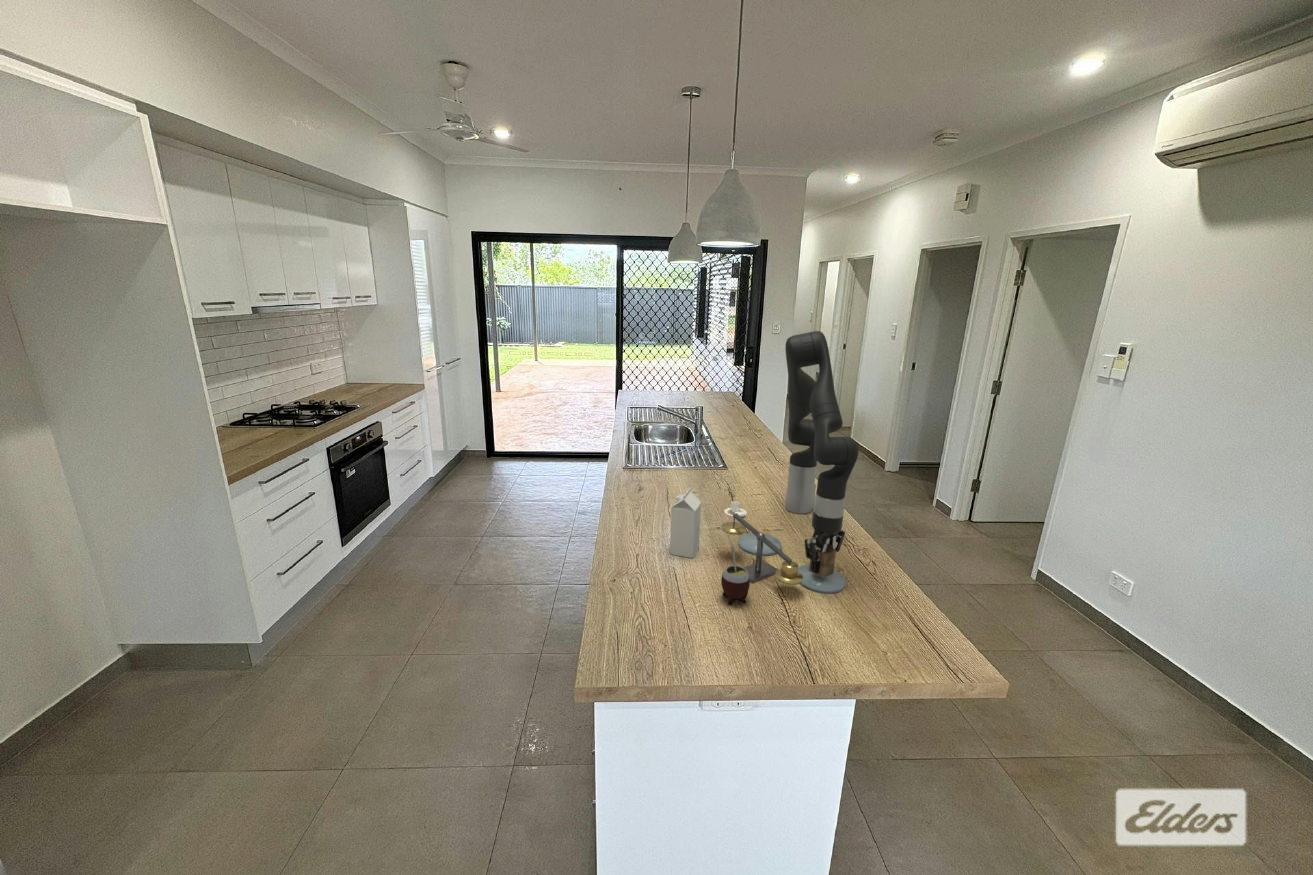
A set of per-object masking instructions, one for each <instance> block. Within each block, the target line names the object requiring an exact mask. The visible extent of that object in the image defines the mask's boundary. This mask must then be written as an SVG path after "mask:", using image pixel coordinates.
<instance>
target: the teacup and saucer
mask: <svg viewBox="0 0 1313 875" xmlns="http://www.w3.org/2000/svg"><path fill="white" fill-rule="evenodd" d="M730 510H731V513H732V514H731V513H729V512H728V511H730ZM723 512H724V515H725V514H726V515H727V516H730V517H733V514H735V513H737V514H738V515H739V516H740V517H742V518H743V517H745V516H747V514H748V512H747V511H746V510H745V509H743V508H741V502H740V501H738V500H734V501H731V504H730V507H728V508H725V509H724V511H723Z"/></svg>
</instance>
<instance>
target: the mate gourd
mask: <svg viewBox="0 0 1313 875" xmlns="http://www.w3.org/2000/svg"><path fill="white" fill-rule="evenodd" d="M727 537H728V540H729V543H730V546H731V548H730V550H731V553H732V560H733V565H730V566H727V567H726V568H725V569H724V570H723V572H722V575H721V579H720V583H721V588H722V590H723V593H722V597H724V598H727V599H728V603H727V605H728V606H732V604H733V603H734V602H739V603H742V604H744V605H745V604H746V603H747V600H746V599H747V597H748V595H749V594H748V593H749V589H750V585H751V584H750V583H751V582H750V578H749V574H748V572H747V571H746V570H745V569H744V567H742V566H739V565H737V563H736V553H735V551H736V550H735V546H734V544H733V540H732V539H731V536H730V534H729V535H727Z"/></svg>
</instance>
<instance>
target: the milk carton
mask: <svg viewBox="0 0 1313 875" xmlns="http://www.w3.org/2000/svg"><path fill="white" fill-rule="evenodd" d="M675 499H676V501H675V502H674V504H673V505H672V506H671V508H670V509H671V510H670V511H671V512H670V515H671V516H670V538H669V541H670V542H669V554H670V555H674V556H679V557H684V558H689V559H694V557H695V556H696V554H697V552H698V550H699V548H700V535H701V514H702V513H701V512H702V501H701V500H700V499H699V498H698V497H697V496H696V495H695V494H694V492H692V491H691V487H689V488H688V489H687V491H686V492H685V493H684V494H682V493H680V494H678V495H677V496H676V497H675Z"/></svg>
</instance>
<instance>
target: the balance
mask: <svg viewBox="0 0 1313 875" xmlns="http://www.w3.org/2000/svg"><path fill="white" fill-rule="evenodd" d="M732 515H733V516H732V518H733V520H732V521H727V522H724V523H722V525H721V528H720V529H721V531H722V532H724V533H725V534H729V535H734V536H735V535H738V536H739V535H744V534H746V531H747V530H748V531H749V532H750V533H753V534H754V535H755V536H756V538H757V540H758V541H757V552H756V555H755V563H753V564H748V565H746V566H745V567H744V566H743V568H744V569H745V570H746V571H747V572H748V574H749V578H750V583H751V584H755V583H756V582H759V581H762V580H763V579H766V578H769V577H772V576H774V578H775V579H776V580H777V581H778V582H780V583H782V584H785V585H790V586H792V585H793V586H796V585H800V583H801V582H802V581H803V576H802V574H801V573H800V572H798V568H799V564H798V563H796V562H794V561H793V559H792V558H791V557H790V556H788V555H787V554H786V553H785V552H784V551H782V549H781V550H780V549H779V548H778V547H776V546H775V545H774V544H773V543H772V542H770V541H769V540H768V539H767V538H766V537H765V534H766V533H763V532H760V531H759V530H757V529H756V528H755V527H753V526H752V524H750V523H749V522H748V521H746V520H745V519H744V518H743V517H740V516H739V515H738V514H737V513H735V514H734V513H732ZM763 543H765V544H766V545H767V546H768V547H769V548H771V549H772V550H773V551H774V552H775V553H776V554H775V555H777V556H778V557H780V558H781V559H782V560H783V561H782V563H781V568H776V567H775V566H773V565H772V564H770V563H768V562H767V561H765V560H763V556H762V553H763Z"/></svg>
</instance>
